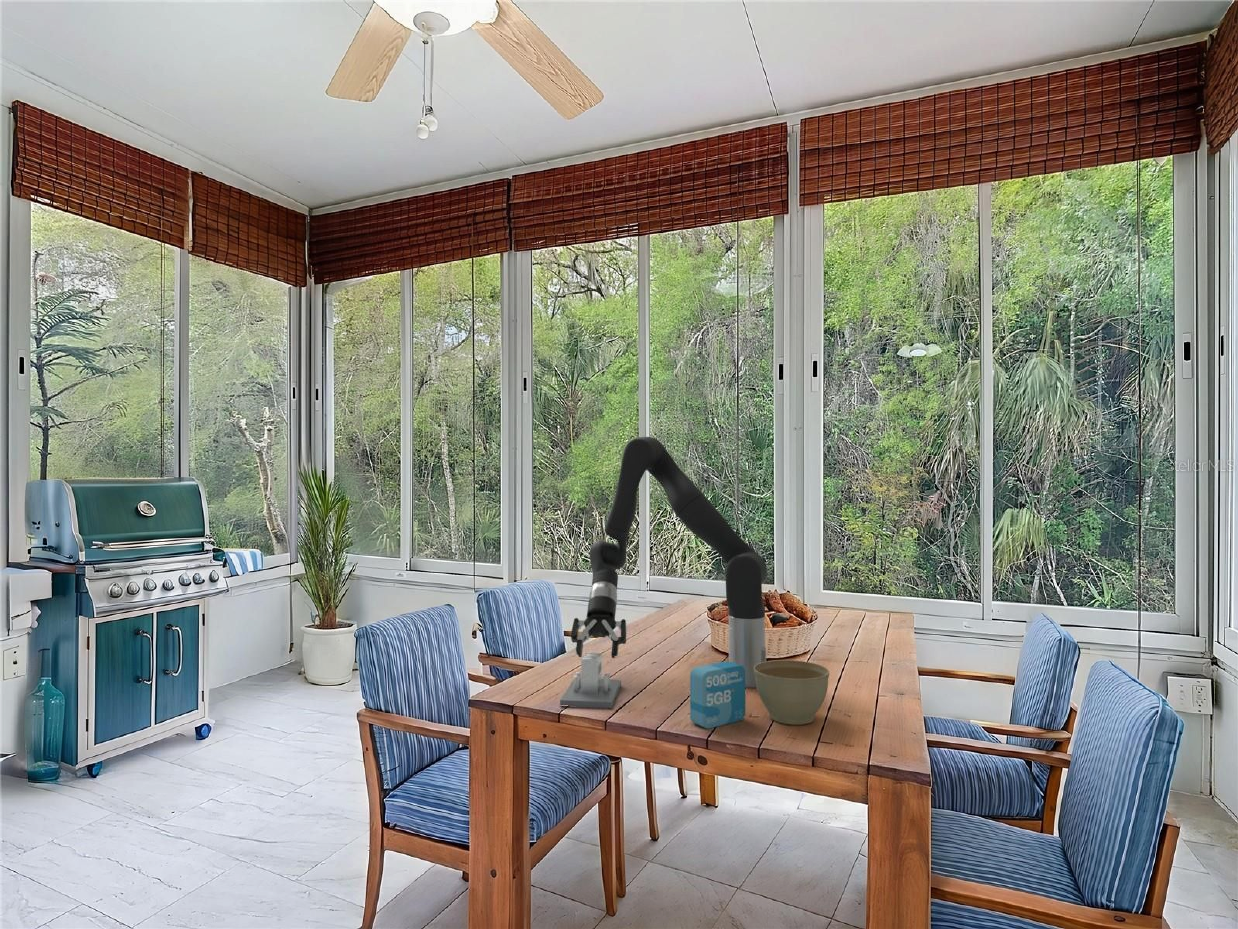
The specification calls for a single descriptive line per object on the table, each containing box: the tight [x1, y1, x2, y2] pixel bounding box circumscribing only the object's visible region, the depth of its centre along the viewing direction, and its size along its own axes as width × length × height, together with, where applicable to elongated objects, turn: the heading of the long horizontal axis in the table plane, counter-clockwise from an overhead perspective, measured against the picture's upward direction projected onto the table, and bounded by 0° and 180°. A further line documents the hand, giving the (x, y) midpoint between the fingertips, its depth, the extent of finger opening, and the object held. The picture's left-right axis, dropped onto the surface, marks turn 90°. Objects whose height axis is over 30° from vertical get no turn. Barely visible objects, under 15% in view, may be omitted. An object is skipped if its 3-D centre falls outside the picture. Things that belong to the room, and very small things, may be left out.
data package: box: [689, 660, 746, 730], centre depth 152 cm, size 12×4×12 cm, turn 123°
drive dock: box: [559, 671, 622, 709], centre depth 171 cm, size 12×18×5 cm, turn 173°
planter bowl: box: [754, 659, 830, 726], centre depth 154 cm, size 16×16×11 cm
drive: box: [580, 652, 603, 693], centre depth 171 cm, size 4×6×8 cm
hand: (596, 656), depth 178 cm, fingers open, 8 cm apart
